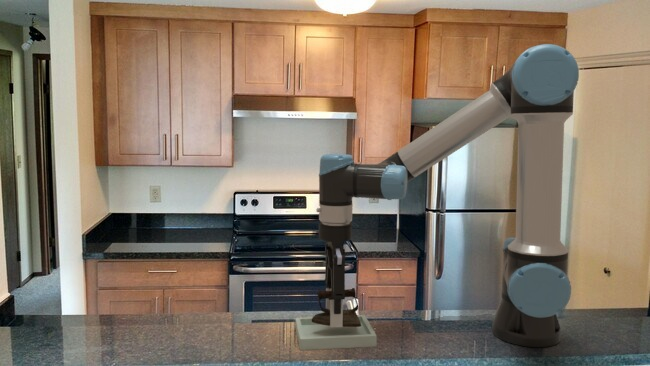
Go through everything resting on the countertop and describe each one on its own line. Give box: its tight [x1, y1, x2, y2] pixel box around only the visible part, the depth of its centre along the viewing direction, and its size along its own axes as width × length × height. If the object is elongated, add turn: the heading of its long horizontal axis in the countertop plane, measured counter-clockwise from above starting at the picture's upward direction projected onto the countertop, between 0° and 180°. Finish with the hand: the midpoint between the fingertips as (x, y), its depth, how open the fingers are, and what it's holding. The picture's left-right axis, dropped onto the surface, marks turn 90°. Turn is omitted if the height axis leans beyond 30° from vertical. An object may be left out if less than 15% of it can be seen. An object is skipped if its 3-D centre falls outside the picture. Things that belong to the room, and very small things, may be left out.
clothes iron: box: [312, 287, 361, 327], centre depth 125 cm, size 7×11×10 cm, turn 97°
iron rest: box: [294, 314, 378, 351], centre depth 126 cm, size 17×13×2 cm
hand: (333, 320), depth 125 cm, fingers closed on clothes iron, 6 cm apart
